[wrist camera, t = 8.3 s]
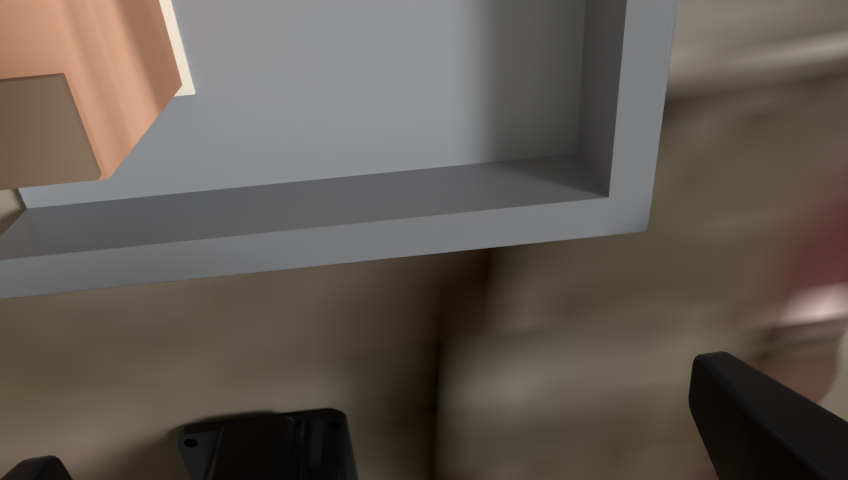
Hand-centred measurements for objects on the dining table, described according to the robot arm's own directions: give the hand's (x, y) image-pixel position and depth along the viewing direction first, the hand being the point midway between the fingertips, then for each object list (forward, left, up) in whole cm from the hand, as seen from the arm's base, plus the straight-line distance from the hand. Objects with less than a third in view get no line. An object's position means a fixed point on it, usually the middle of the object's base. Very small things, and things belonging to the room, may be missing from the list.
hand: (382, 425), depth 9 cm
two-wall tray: (+3, +2, -12) cm, 12 cm away
